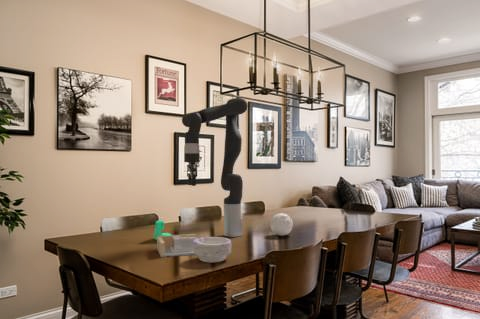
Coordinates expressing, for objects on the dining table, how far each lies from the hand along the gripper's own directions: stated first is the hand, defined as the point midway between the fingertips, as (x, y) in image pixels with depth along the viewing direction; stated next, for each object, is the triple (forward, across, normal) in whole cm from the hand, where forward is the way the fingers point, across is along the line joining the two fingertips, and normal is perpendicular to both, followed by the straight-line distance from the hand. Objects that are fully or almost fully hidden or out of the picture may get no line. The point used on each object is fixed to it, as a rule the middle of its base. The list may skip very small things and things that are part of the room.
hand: (191, 185), depth 185 cm
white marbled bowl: (+28, -37, -1) cm, 47 cm away
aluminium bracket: (+27, -18, +7) cm, 33 cm away
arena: (+28, -18, +9) cm, 35 cm away
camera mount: (+28, +10, +13) cm, 33 cm away
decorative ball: (+28, +1, -49) cm, 57 cm away
